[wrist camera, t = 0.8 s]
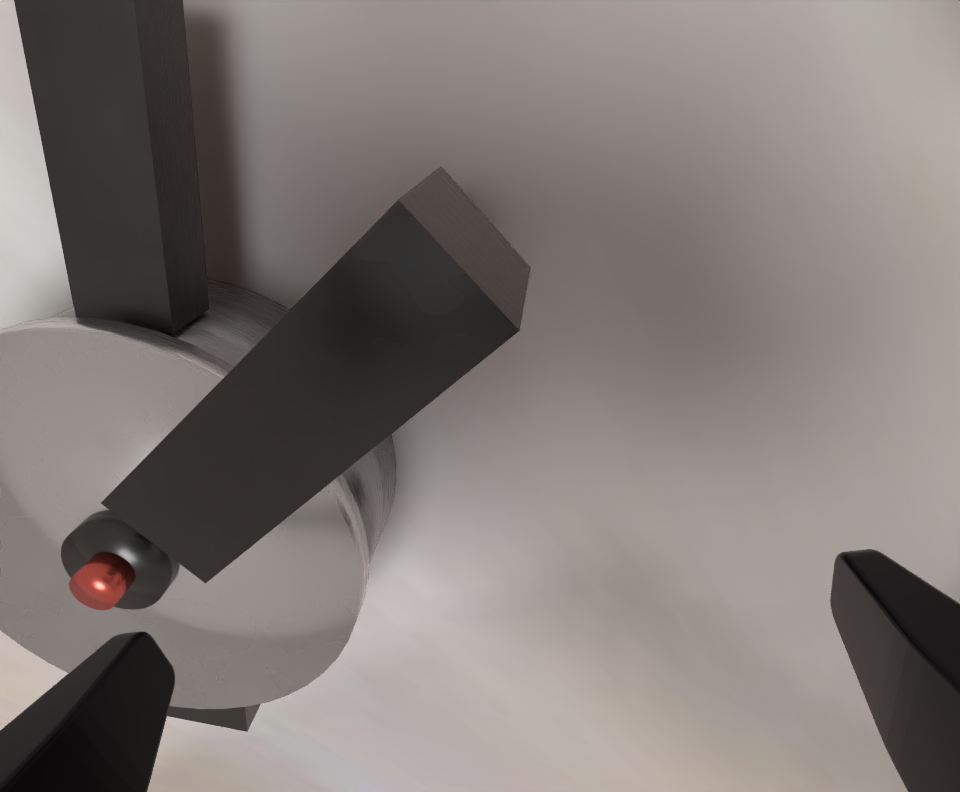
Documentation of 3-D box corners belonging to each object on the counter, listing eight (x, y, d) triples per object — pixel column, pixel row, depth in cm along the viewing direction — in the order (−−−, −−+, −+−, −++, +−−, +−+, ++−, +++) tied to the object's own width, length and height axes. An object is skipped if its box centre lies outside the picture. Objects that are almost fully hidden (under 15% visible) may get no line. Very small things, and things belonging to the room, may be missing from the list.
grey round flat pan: (382, 663, 29) (354, 757, 25) (93, 609, 30) (21, 692, 26) (427, 35, 17) (386, 25, 13) (-58, -32, 18) (-236, -60, 14)
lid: (202, 733, 25) (140, 848, 21) (-141, 498, 21) (-291, 589, 18) (677, 430, 16) (709, 536, 13) (240, -64, 12) (103, -120, 9)
